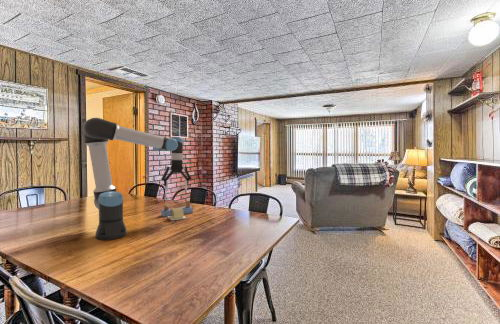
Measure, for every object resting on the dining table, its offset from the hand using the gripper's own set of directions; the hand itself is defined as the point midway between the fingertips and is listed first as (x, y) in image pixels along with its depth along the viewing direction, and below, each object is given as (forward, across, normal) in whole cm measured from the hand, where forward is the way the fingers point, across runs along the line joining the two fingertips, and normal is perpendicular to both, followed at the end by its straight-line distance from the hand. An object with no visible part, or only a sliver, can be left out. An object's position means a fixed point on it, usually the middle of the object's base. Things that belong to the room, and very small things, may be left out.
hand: (176, 190), depth 175 cm
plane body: (+19, -5, -10) cm, 22 cm away
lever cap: (+19, -1, 0) cm, 19 cm away
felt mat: (+19, -1, 0) cm, 19 cm away
